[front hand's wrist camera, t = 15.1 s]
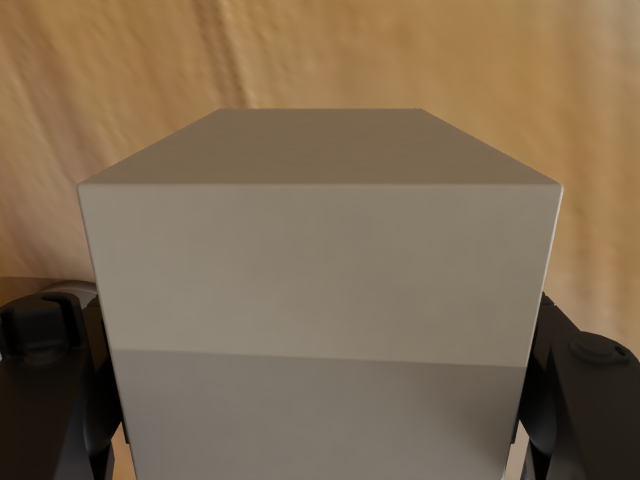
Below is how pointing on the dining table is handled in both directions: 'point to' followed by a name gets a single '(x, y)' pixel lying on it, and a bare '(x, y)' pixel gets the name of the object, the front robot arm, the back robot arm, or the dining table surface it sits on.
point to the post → (319, 295)
